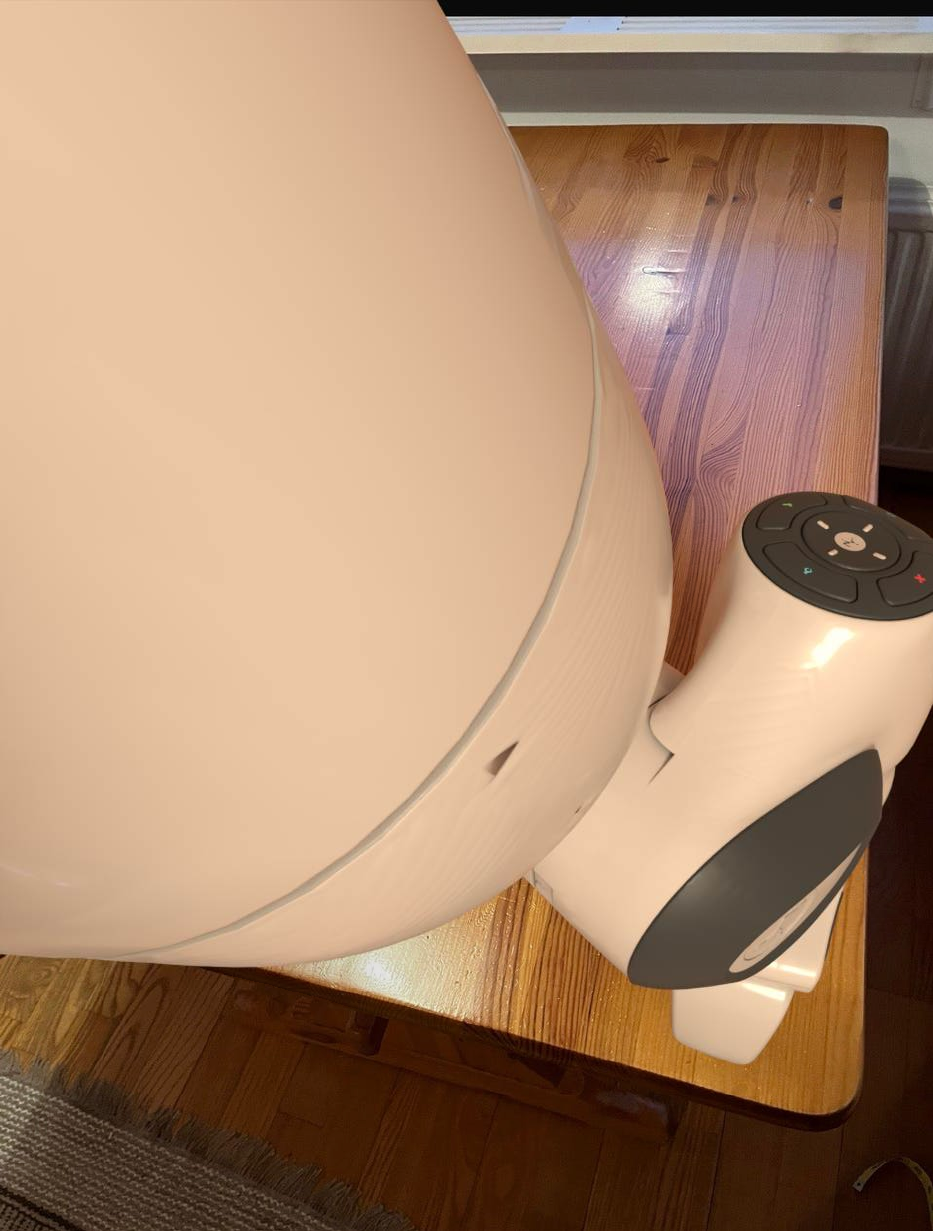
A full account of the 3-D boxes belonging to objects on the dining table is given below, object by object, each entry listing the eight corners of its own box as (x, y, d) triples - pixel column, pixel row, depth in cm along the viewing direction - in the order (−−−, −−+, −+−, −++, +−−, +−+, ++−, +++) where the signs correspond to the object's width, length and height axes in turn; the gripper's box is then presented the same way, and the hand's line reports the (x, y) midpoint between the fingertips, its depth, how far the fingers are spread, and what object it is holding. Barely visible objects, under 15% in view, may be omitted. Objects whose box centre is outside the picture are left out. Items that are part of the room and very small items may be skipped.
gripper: (747, 605, 50) (718, 744, 60) (652, 968, 38) (637, 1063, 48) (872, 632, 48) (820, 771, 58) (813, 1023, 36) (761, 1109, 46)
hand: (736, 906), depth 53 cm, fingers closed on lollipop, 5 cm apart
